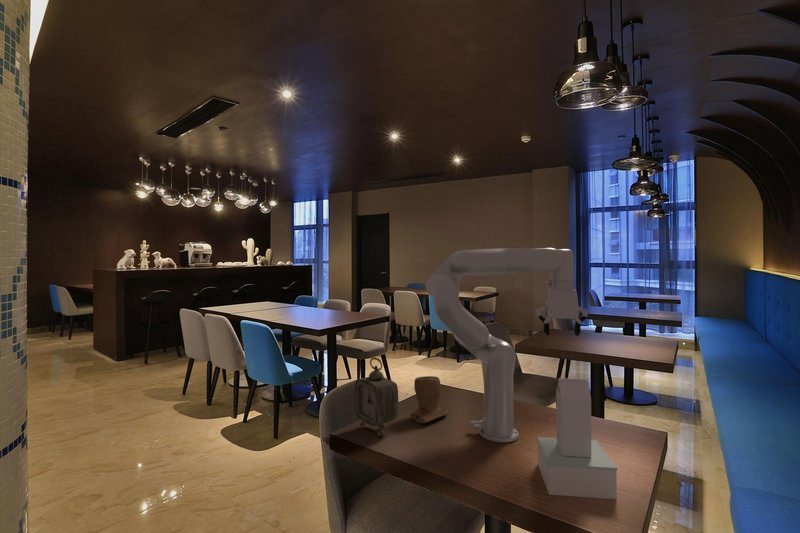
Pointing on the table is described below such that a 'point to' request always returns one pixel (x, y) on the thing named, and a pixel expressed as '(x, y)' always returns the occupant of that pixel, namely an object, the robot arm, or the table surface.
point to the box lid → (557, 460)
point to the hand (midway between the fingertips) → (561, 335)
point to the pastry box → (578, 480)
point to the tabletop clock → (376, 399)
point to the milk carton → (573, 417)
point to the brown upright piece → (428, 399)
